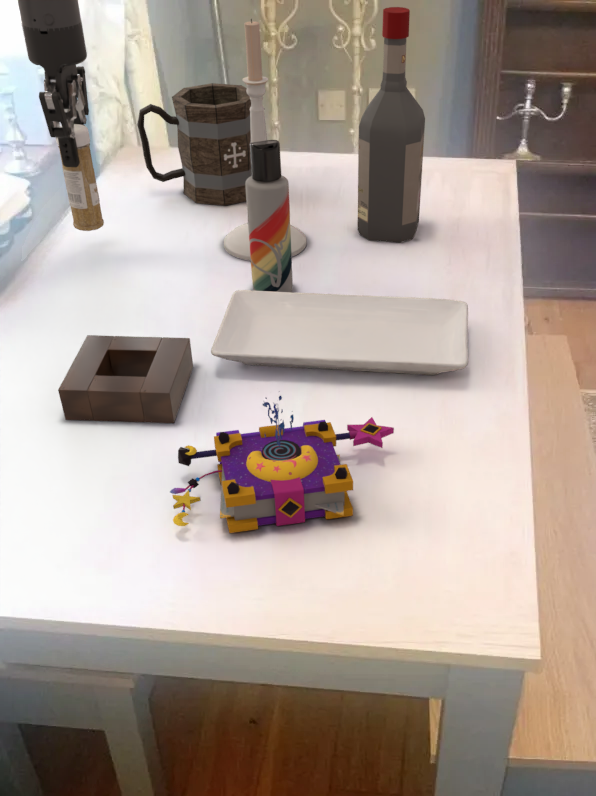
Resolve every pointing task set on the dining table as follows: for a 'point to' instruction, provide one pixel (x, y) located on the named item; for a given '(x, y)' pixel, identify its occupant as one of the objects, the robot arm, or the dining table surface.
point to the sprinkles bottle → (83, 185)
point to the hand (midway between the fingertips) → (76, 159)
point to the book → (279, 473)
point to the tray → (344, 332)
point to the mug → (208, 142)
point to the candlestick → (256, 140)
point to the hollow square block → (127, 379)
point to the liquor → (391, 145)
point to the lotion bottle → (269, 219)
